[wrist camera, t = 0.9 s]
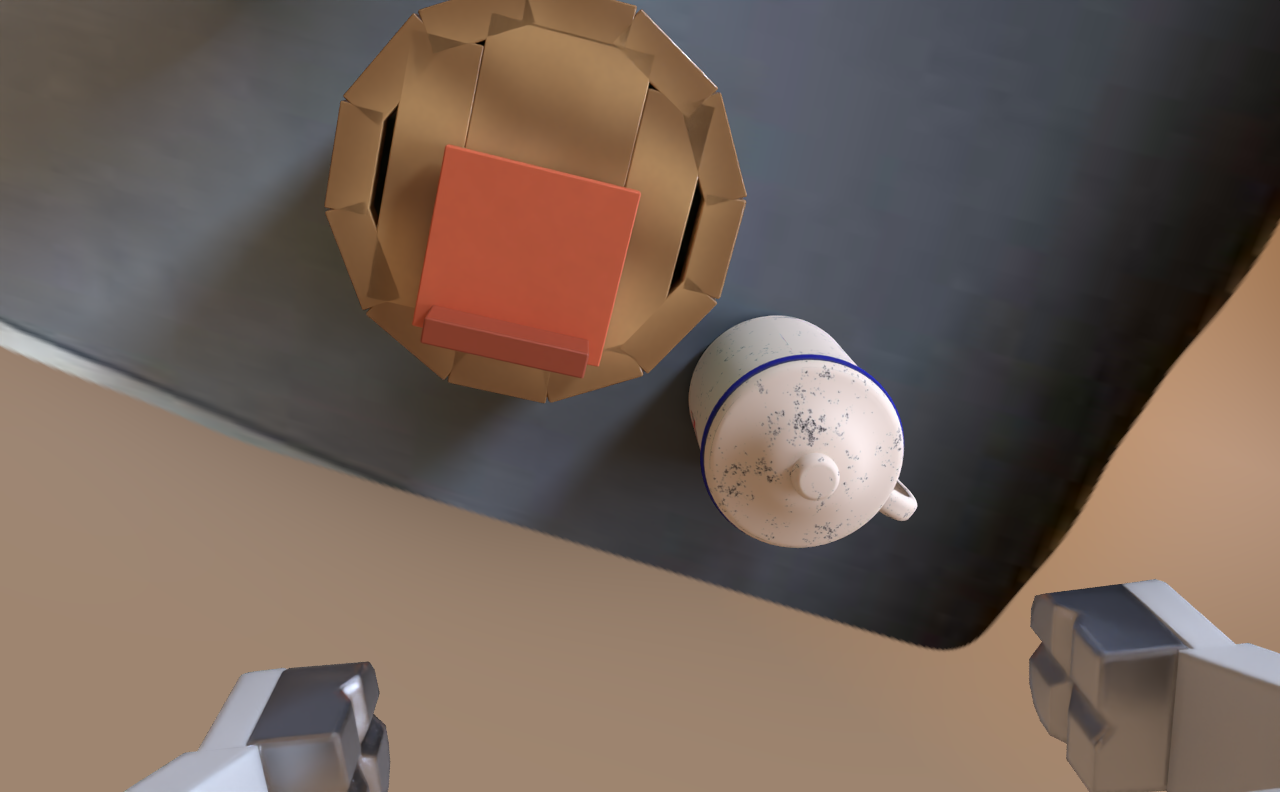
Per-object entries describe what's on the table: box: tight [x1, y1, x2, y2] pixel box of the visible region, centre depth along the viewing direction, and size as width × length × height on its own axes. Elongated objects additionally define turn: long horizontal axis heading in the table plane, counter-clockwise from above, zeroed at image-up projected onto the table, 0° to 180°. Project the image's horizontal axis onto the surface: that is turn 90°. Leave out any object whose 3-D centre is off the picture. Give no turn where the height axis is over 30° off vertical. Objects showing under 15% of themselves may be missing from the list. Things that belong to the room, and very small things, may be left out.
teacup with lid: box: [689, 316, 917, 548], centre depth 49 cm, size 12×9×12 cm
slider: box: [412, 144, 641, 378], centre depth 38 cm, size 7×7×3 cm
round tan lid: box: [324, 0, 747, 403], centre depth 39 cm, size 15×15×1 cm
